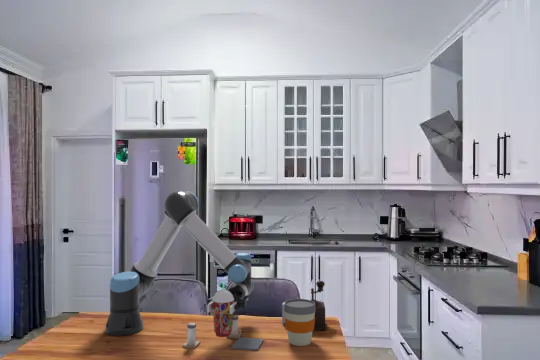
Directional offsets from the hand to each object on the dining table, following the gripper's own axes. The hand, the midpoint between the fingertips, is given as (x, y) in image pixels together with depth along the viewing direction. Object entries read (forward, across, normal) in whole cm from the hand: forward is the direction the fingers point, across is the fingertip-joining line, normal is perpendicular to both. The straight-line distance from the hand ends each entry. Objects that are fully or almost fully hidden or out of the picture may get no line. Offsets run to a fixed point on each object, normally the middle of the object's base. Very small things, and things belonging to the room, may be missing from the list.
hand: (219, 309), depth 152 cm
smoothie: (-5, 0, -11) cm, 12 cm away
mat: (-8, -9, -15) cm, 19 cm away
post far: (-15, -1, -15) cm, 21 cm away
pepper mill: (-36, -31, -15) cm, 50 cm away
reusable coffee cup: (-15, -28, -15) cm, 35 cm away
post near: (-2, +12, -15) cm, 19 cm away
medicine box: (-36, -21, -15) cm, 44 cm away
